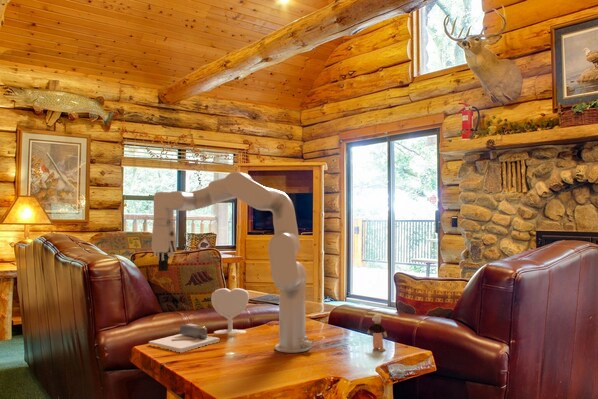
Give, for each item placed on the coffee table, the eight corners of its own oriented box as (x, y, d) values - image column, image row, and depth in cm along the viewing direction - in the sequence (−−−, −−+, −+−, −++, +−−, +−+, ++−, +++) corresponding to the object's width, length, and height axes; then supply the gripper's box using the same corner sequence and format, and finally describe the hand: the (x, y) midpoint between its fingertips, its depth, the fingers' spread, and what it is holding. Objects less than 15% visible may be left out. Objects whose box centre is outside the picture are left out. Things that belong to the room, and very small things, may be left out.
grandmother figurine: (389, 349, 175) (388, 314, 176) (386, 352, 172) (386, 315, 172) (368, 347, 178) (368, 312, 179) (365, 350, 175) (365, 314, 176)
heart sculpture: (210, 333, 203) (210, 289, 204) (212, 330, 208) (212, 288, 209) (248, 332, 203) (248, 289, 204) (249, 330, 208) (249, 287, 209)
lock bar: (208, 337, 187) (208, 326, 187) (202, 339, 184) (202, 328, 185) (185, 332, 195) (185, 322, 195) (178, 334, 192) (178, 323, 193)
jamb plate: (219, 341, 188) (219, 327, 188) (180, 352, 173) (180, 337, 173) (188, 335, 199) (188, 322, 199) (148, 345, 183) (149, 330, 184)
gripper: (183, 223, 190) (183, 271, 190) (159, 223, 199) (158, 268, 198) (168, 223, 184) (167, 272, 184) (143, 223, 193) (143, 270, 192)
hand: (163, 270), depth 191 cm, fingers closed
